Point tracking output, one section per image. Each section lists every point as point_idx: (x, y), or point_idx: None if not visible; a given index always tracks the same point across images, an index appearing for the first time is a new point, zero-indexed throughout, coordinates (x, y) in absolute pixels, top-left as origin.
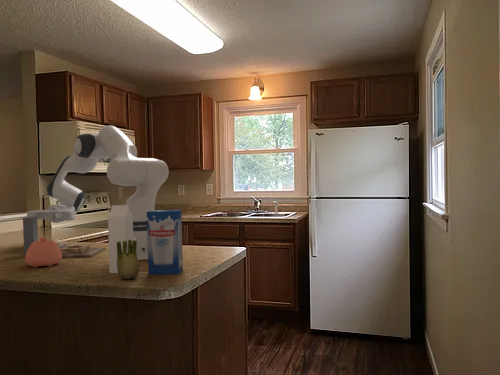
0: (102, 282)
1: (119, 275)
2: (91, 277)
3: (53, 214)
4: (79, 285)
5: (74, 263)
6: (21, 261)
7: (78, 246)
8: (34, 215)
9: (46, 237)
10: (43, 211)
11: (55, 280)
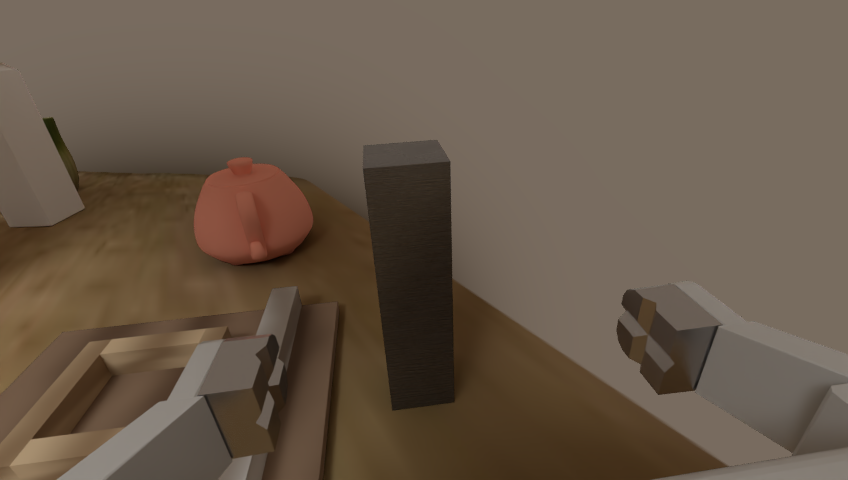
0: (118, 181)
1: (78, 182)
2: (132, 193)
3: (258, 336)
4: (160, 173)
5: (160, 263)
6: (375, 277)
7: (89, 437)
8: (623, 298)
9: (228, 163)
10: (734, 474)
11: (204, 182)
